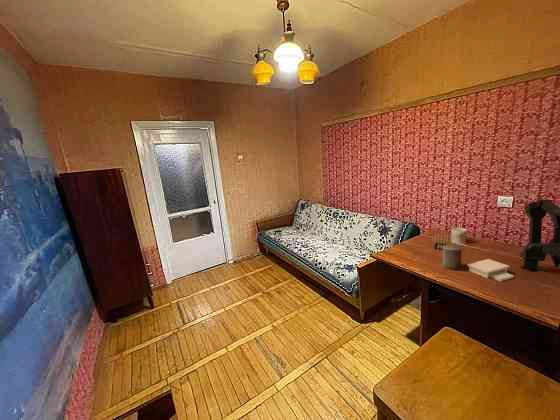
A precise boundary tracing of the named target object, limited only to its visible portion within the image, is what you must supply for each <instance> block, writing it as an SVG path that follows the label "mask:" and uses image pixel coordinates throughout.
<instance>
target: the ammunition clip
mask: <svg viewBox="0 0 560 420" xmlns="http://www.w3.org/2000/svg"><path fill="white" fill-rule="evenodd" d="M444 245H453V243H452V240H451V234H450V235H446V234H444V235H443V234H441V235H440V234H435V237H434V248H433V250H437V249H439V251H443V246H444Z"/></svg>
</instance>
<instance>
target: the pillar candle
mask: <svg viewBox="0 0 560 420" xmlns="http://www.w3.org/2000/svg"><path fill="white" fill-rule="evenodd" d="M462 250H463V248H462V247H461V246H460V245H457V244H451V245H444V246H443V250H442V267H443V268H444V269H446V270H450V271H460V270H461V269H462V267H461V265H462V252H463V251H462Z"/></svg>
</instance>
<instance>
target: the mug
mask: <svg viewBox="0 0 560 420" xmlns="http://www.w3.org/2000/svg"><path fill="white" fill-rule="evenodd" d="M450 231H451V232H450V235H451V240H452V244H455V243H456V244H455V245H466V244H467V233H468V229H467V228H464V227H463V228H462V227H452V228H451V230H450Z"/></svg>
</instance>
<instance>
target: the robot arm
mask: <svg viewBox="0 0 560 420" xmlns="http://www.w3.org/2000/svg"><path fill="white" fill-rule="evenodd" d="M524 210H525V215H526V216H527V217H528V218H529V232H528V243H527V244H526V245H525V246H524V250H522V251H521V252H520V254H519V255H520V258H521V259H522V260H523V265H521V266H520V268H521V269H524V270H528V271H530V272H533V273H535V272H538V271H542V268H540V267H539V264H540V263H539V262H545V260H546V257H547V255H549V256H550V258H551V259H552V262H553V264H554V266H555V268H560V206H559V205H557V204H556V203H554V202H553V200H551V199H538V200H536V201H534V202H529V203H528V204H526V205H525V206H524ZM547 214H548V215H550V220H551V221H552V223H553V224H552V226H553V231H552V233H553V234H552V238H550V240H549V243H546V242H542V231H543V229H542V228H543V227H542V226H543V219H544V218H545V217H546V216H547Z"/></svg>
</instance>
